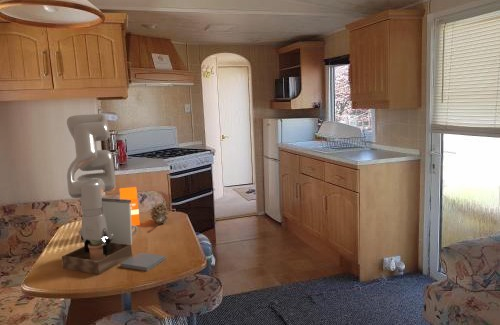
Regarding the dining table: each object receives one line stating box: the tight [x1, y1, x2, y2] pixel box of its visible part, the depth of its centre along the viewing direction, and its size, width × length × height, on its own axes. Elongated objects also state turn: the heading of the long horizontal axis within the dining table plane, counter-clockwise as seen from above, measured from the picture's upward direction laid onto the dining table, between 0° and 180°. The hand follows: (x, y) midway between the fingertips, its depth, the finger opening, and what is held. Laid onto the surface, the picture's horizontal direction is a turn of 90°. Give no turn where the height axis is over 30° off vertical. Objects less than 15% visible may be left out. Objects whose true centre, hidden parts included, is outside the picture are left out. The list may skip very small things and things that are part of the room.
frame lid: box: [102, 197, 133, 245], centre depth 176 cm, size 19×19×1 cm
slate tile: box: [119, 252, 166, 272], centre depth 166 cm, size 13×12×2 cm
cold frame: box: [61, 242, 133, 275], centre depth 169 cm, size 19×19×5 cm
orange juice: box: [119, 186, 141, 226], centre depth 219 cm, size 8×9×20 cm
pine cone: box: [150, 203, 169, 225], centre depth 216 cm, size 22×10×10 cm, turn 14°
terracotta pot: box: [88, 240, 107, 261], centre depth 168 cm, size 7×7×12 cm
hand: (97, 252), depth 168 cm, fingers open, 9 cm apart
